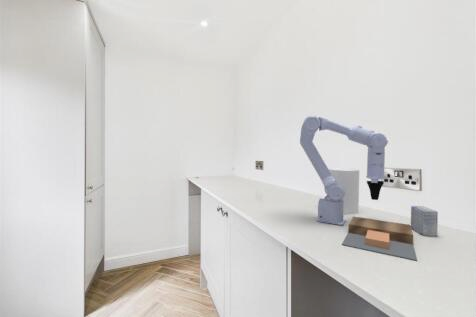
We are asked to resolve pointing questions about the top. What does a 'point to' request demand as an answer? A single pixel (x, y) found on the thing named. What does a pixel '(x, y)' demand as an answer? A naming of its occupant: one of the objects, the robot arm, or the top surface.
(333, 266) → the top surface
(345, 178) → the canister
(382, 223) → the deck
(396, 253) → the mat
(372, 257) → the top surface
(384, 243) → the tan rectangular slab
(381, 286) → the top surface
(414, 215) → the medicine box
